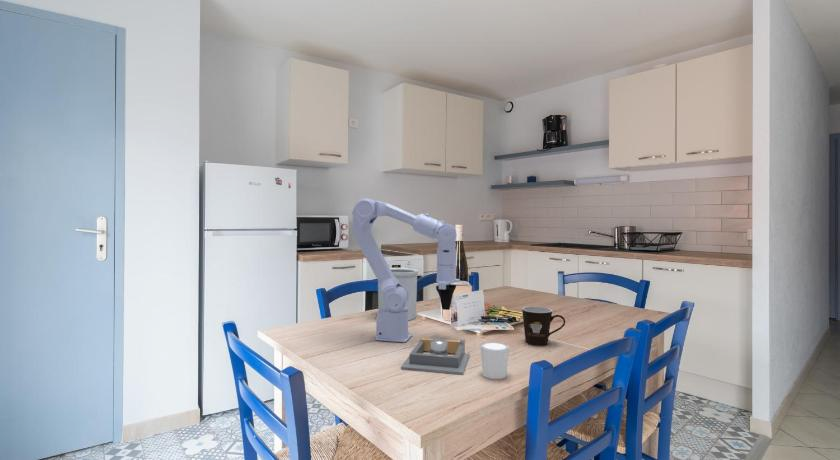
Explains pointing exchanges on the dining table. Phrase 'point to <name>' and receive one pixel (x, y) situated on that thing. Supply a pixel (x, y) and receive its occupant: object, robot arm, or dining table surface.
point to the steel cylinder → (438, 347)
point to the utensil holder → (408, 281)
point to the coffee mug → (538, 324)
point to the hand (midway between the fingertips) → (446, 309)
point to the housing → (436, 361)
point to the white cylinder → (494, 359)
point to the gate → (451, 345)
